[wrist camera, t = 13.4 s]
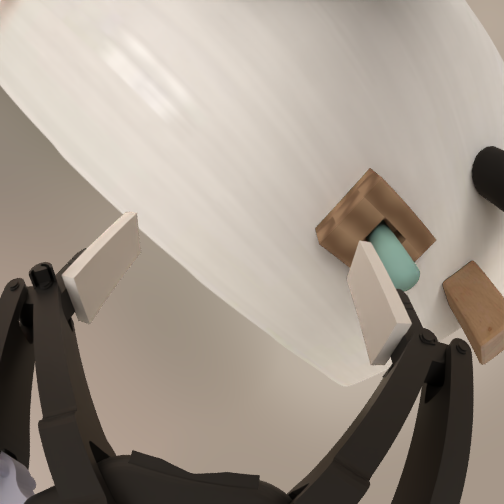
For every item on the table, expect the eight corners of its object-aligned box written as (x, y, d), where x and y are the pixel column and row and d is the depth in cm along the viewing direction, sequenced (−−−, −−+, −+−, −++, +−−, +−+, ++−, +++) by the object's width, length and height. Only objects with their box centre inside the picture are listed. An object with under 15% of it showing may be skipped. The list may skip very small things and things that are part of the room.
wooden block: (440, 281, 49) (480, 348, 32) (472, 257, 45) (519, 317, 28) (448, 306, 53) (481, 368, 36) (478, 284, 49) (516, 341, 32)
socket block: (370, 168, 39) (381, 177, 35) (423, 225, 43) (436, 239, 39) (315, 228, 46) (319, 244, 41) (373, 275, 50) (381, 292, 45)
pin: (376, 213, 42) (409, 258, 30) (391, 228, 43) (425, 275, 31) (358, 231, 44) (384, 281, 32) (374, 245, 45) (401, 296, 33)
